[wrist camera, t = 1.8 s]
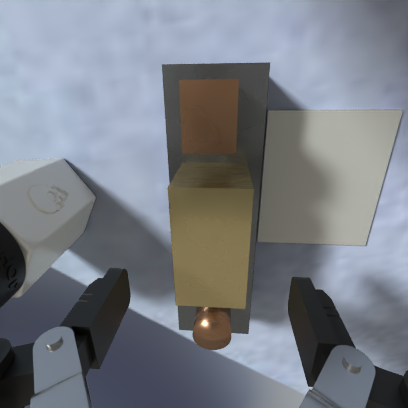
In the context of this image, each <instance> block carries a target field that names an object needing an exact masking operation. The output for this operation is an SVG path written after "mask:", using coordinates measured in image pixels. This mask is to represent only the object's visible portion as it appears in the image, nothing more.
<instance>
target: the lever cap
mask: <svg viewBox="0 0 408 408" xmlns="http://www.w3.org/2000/svg"><path fill="white" fill-rule="evenodd" d="M253 193H254V188H253V184H252V180H251V176H250V173H249V169H248V165H247V163H187V162H183V163H182V164H181V166H180V168H179V169H178V171H177V173H176V174H175V176H174V178H173V179H172V181H171V183H170V184H169V186H168V198H169V213H170V227H171V242H172V256H173V271H174V285H175V300H176V305H181V306H199V307H218V308H236V309H245V307H246V293H247V279H248V265H249V250H250V236H251V222H252V208H253Z"/></svg>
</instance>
